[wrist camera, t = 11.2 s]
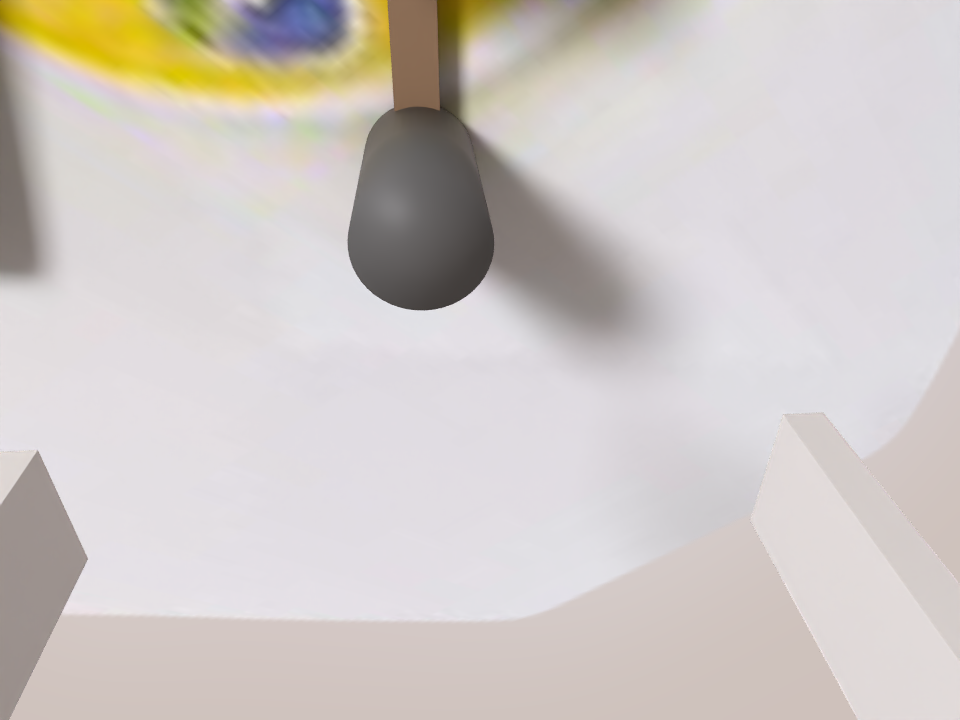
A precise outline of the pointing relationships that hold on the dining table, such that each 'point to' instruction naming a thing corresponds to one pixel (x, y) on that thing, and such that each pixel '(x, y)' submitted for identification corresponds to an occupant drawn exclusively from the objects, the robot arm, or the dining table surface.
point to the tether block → (419, 183)
